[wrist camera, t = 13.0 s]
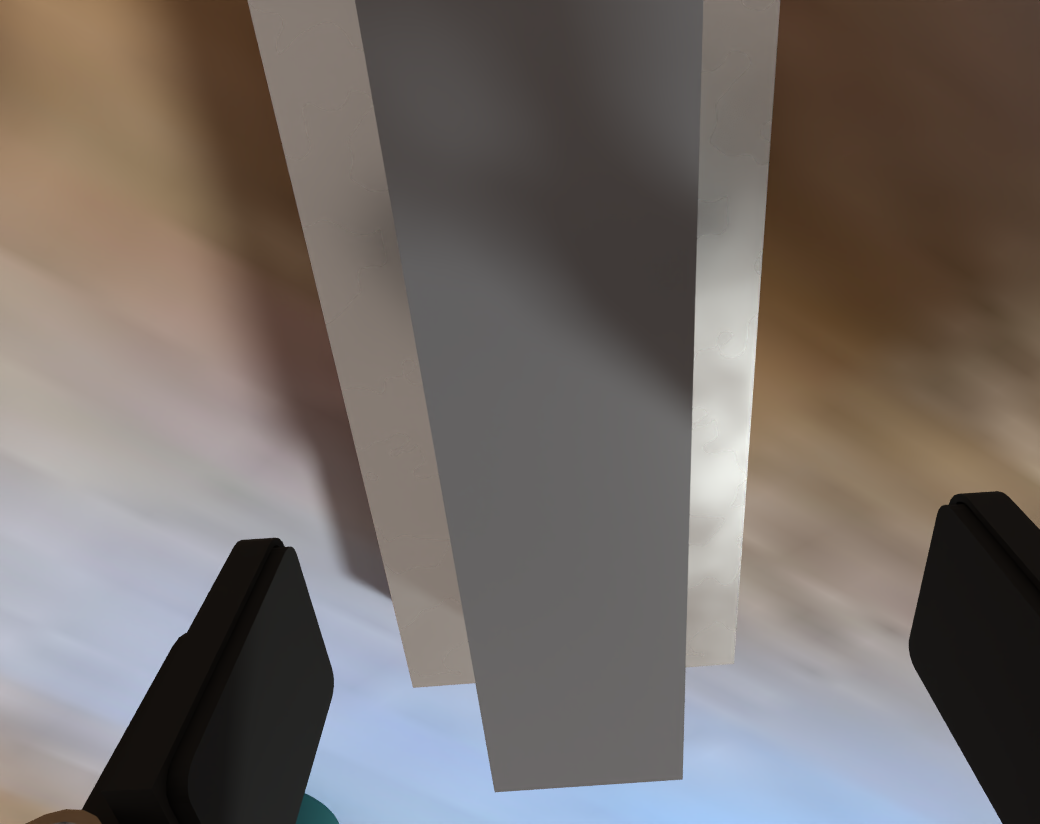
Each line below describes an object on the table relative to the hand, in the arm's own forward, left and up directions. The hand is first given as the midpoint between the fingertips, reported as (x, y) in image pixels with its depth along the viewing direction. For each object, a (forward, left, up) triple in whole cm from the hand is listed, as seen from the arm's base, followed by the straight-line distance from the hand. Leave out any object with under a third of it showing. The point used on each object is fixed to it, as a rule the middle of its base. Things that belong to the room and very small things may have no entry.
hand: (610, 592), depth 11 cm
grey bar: (0, 0, -10) cm, 10 cm away
